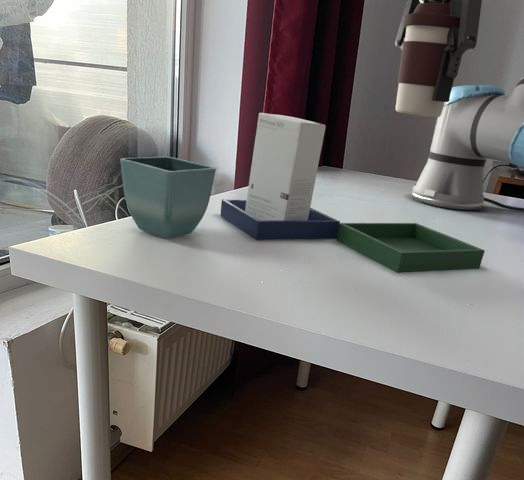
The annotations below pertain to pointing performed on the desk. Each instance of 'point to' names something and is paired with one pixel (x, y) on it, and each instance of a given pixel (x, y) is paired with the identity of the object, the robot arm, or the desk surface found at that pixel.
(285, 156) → the cosmetic box
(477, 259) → the green tray
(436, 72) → the coffee cup
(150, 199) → the flower pot
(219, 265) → the desk surface
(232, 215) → the navy tray
